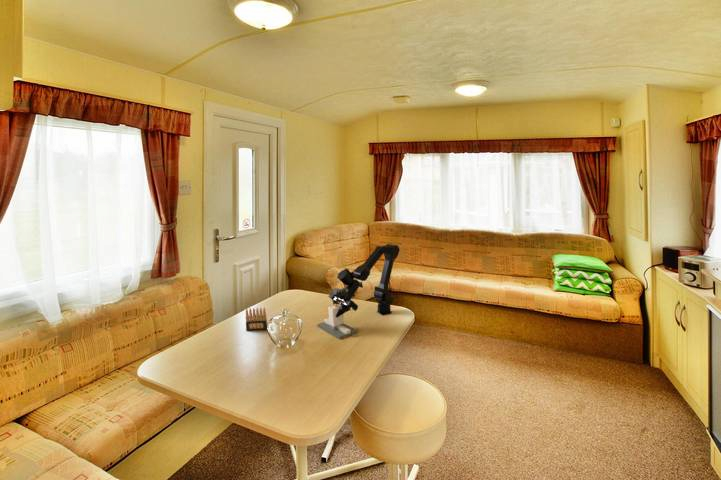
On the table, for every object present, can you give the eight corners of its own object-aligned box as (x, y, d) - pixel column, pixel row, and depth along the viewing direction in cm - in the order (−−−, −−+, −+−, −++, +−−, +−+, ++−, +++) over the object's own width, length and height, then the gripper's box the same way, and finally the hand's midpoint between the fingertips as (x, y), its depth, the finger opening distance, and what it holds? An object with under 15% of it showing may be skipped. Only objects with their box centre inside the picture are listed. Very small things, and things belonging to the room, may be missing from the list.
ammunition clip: (268, 328, 178) (266, 306, 176) (267, 330, 176) (265, 307, 174) (247, 329, 177) (245, 307, 175) (246, 331, 175) (244, 308, 173)
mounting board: (317, 326, 178) (316, 321, 178) (334, 320, 185) (334, 315, 184) (339, 339, 163) (339, 333, 162) (357, 332, 170) (357, 327, 169)
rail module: (339, 324, 177) (338, 301, 175) (344, 326, 174) (342, 303, 172) (329, 327, 173) (328, 304, 171) (334, 330, 170) (332, 306, 168)
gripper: (330, 277, 179) (313, 303, 174) (352, 285, 165) (334, 313, 160) (343, 289, 186) (327, 313, 180) (365, 297, 171) (348, 324, 166)
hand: (333, 315), depth 172 cm, fingers closed on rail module, 4 cm apart
